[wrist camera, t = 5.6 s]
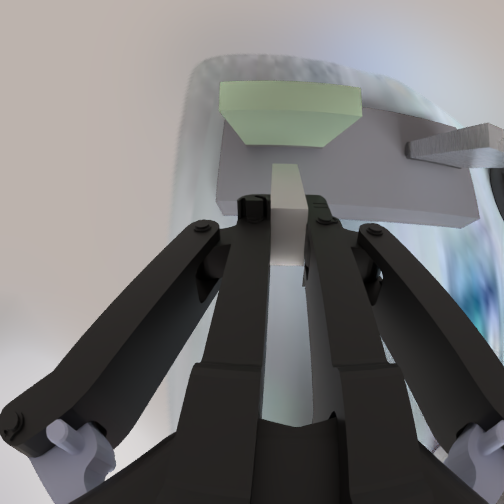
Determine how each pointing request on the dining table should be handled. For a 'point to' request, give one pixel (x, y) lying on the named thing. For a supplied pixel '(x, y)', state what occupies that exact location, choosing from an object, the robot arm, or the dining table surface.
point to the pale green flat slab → (289, 112)
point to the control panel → (358, 173)
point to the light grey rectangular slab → (461, 148)
